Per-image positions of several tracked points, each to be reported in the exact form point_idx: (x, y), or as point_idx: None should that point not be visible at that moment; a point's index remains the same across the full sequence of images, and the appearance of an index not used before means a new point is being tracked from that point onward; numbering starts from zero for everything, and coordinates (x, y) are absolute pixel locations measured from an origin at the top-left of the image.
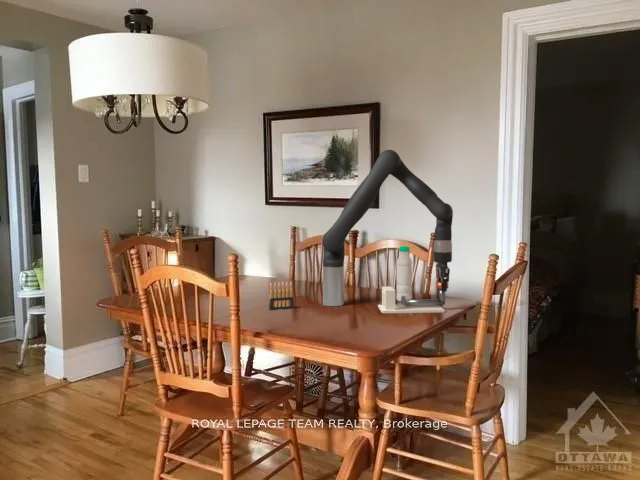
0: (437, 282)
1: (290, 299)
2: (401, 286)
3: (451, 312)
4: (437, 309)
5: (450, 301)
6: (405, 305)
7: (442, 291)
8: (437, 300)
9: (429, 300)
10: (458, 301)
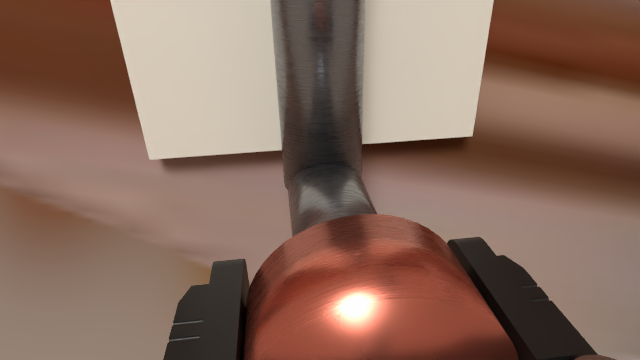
0: (352, 317)
1: None
2: None
3: (167, 206)
4: (170, 86)
5: (609, 262)
6: None
7: (217, 266)
8: (295, 135)
9: (290, 19)
10: (587, 310)
